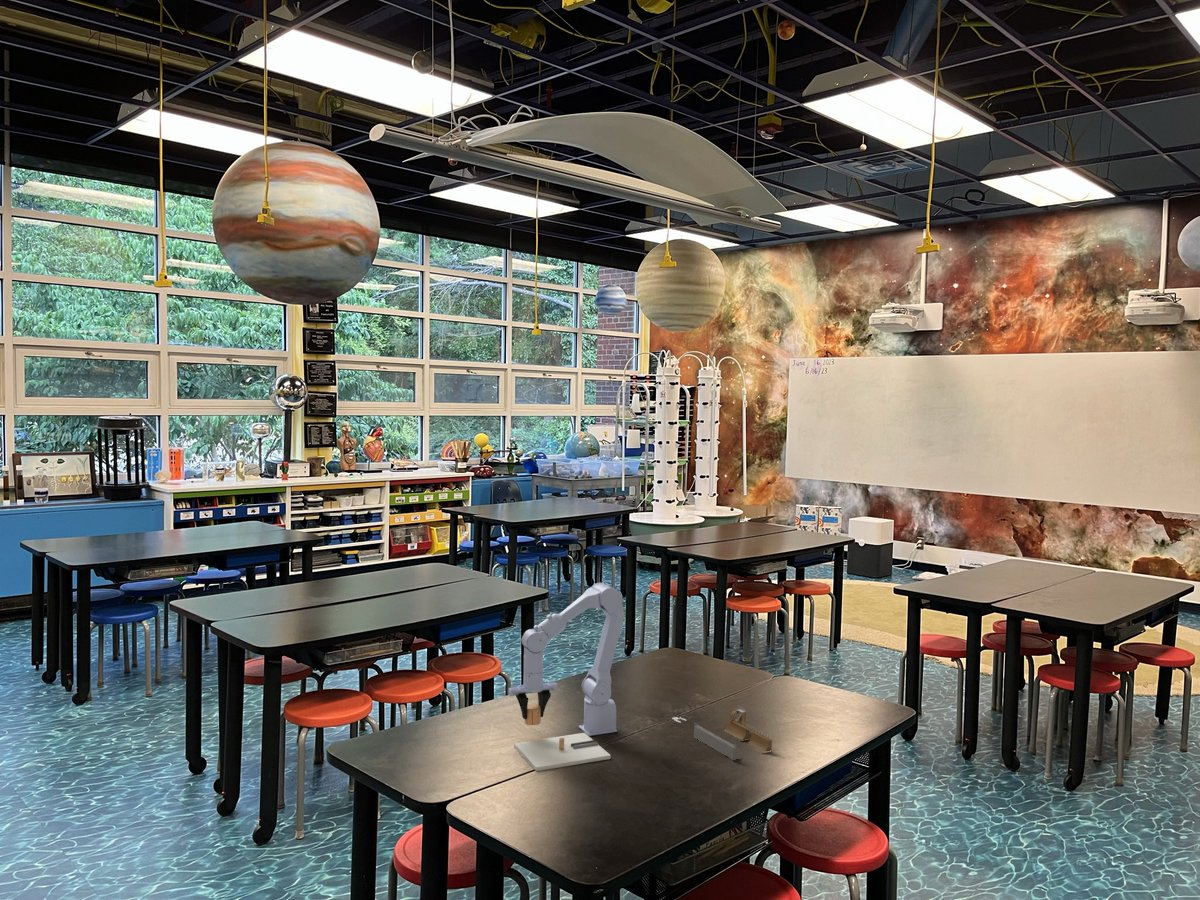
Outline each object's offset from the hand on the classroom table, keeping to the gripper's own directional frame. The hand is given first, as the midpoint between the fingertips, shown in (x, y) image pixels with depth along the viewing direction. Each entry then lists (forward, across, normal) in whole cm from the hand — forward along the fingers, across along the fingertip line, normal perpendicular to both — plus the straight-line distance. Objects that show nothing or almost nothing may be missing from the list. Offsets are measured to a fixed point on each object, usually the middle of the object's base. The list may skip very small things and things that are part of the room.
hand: (532, 717), depth 245 cm
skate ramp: (+7, -58, +26) cm, 64 cm away
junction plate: (+6, -4, +13) cm, 15 cm away
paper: (+7, -50, -2) cm, 50 cm away
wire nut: (+2, 0, 0) cm, 2 cm away
